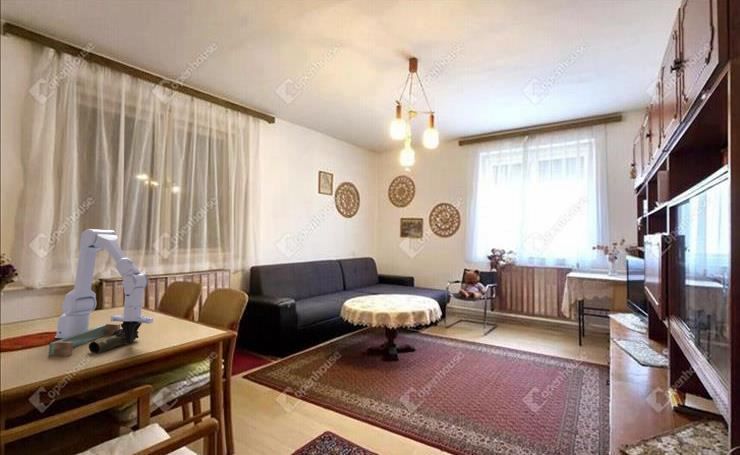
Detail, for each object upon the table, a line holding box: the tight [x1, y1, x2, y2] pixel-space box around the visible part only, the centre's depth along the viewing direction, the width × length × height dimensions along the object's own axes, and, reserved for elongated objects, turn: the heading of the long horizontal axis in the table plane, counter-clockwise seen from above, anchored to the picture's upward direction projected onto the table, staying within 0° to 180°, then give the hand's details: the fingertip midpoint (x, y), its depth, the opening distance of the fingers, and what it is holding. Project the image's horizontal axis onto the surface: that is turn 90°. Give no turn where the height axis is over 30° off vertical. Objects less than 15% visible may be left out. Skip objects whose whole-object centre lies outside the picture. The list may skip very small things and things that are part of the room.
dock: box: [48, 322, 121, 357], centre depth 135 cm, size 6×27×4 cm, turn 3°
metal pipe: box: [88, 328, 140, 354], centre depth 135 cm, size 18×7×6 cm, turn 168°
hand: (129, 341), depth 136 cm, fingers closed
